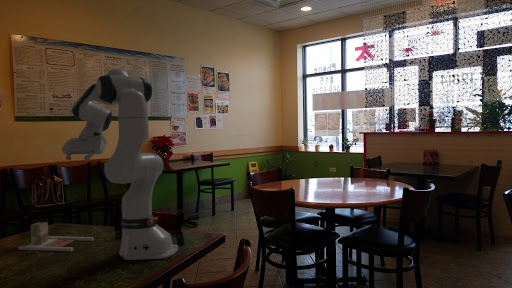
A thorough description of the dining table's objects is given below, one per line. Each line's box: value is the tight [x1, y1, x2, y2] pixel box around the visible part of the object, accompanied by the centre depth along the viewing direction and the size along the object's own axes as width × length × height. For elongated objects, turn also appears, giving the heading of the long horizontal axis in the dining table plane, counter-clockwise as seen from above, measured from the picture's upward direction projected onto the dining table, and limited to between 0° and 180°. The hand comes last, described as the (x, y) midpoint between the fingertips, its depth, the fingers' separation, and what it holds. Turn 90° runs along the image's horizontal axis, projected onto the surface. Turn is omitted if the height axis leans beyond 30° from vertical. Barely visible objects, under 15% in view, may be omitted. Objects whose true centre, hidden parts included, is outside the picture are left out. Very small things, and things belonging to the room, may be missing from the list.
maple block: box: [30, 221, 49, 245], centre depth 156 cm, size 4×4×8 cm
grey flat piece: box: [17, 235, 95, 252], centre depth 154 cm, size 24×15×1 cm, turn 82°
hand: (76, 159), depth 168 cm, fingers open, 8 cm apart
